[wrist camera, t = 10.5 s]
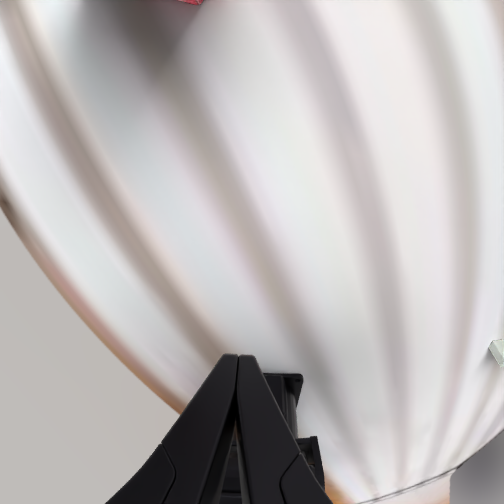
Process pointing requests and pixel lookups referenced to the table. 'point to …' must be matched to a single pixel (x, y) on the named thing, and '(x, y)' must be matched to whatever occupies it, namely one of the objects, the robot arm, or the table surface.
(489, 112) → the table surface
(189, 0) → the ink box
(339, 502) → the table surface
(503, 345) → the pale grey u-shaped frame
